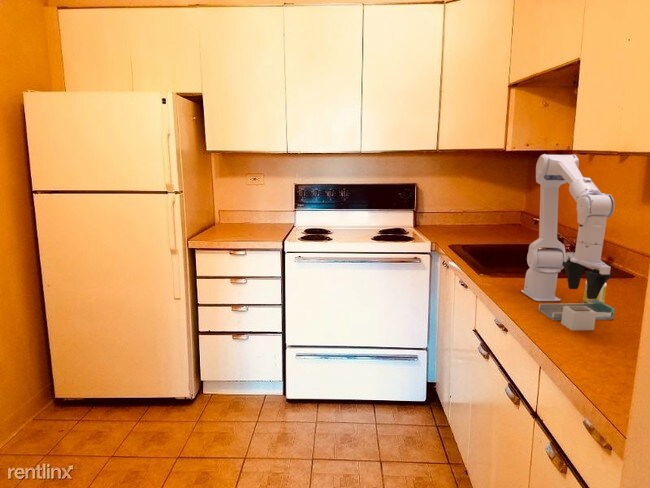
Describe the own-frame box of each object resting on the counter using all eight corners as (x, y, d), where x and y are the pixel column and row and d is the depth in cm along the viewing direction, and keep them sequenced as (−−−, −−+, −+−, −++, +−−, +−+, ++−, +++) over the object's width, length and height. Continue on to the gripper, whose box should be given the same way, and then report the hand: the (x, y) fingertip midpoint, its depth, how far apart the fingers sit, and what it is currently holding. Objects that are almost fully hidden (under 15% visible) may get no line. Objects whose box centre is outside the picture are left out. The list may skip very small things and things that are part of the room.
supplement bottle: (595, 301, 133) (600, 271, 130) (607, 308, 127) (612, 276, 125) (578, 301, 132) (583, 271, 130) (589, 308, 127) (594, 276, 125)
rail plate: (553, 320, 118) (554, 309, 117) (538, 310, 125) (539, 299, 124) (612, 319, 119) (614, 308, 118) (594, 309, 126) (596, 299, 125)
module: (560, 323, 116) (563, 305, 115) (582, 323, 116) (585, 304, 115) (571, 330, 112) (574, 311, 110) (593, 330, 112) (596, 311, 111)
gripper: (557, 236, 116) (551, 284, 119) (593, 248, 102) (585, 303, 105) (582, 236, 116) (575, 284, 119) (622, 248, 102) (613, 303, 105)
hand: (582, 293), depth 112 cm, fingers open, 7 cm apart
